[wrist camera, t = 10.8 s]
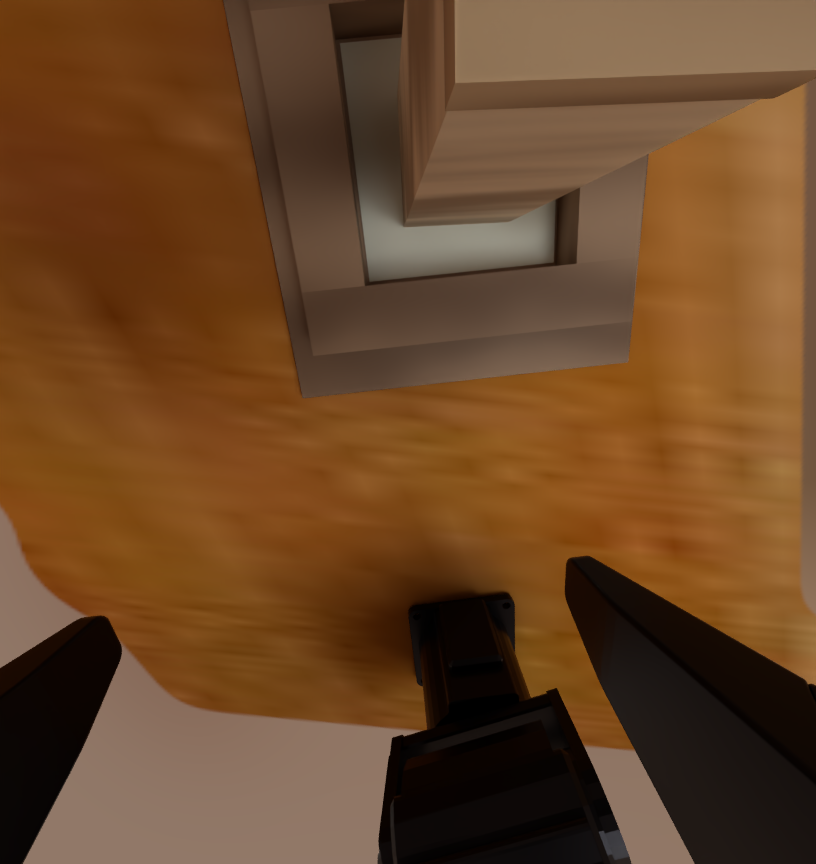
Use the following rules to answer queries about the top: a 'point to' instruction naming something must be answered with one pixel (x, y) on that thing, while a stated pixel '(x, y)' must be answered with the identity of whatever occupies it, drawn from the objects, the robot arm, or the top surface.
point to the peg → (573, 91)
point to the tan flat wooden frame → (412, 246)
